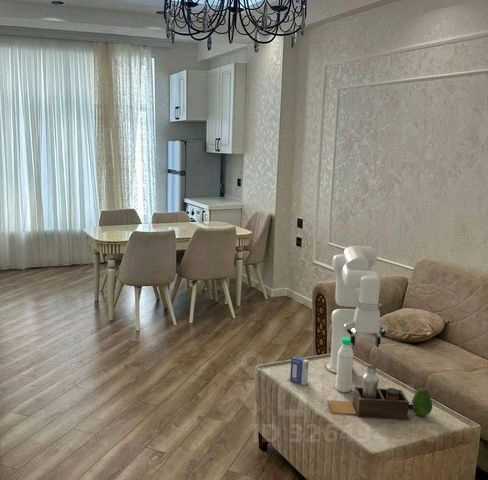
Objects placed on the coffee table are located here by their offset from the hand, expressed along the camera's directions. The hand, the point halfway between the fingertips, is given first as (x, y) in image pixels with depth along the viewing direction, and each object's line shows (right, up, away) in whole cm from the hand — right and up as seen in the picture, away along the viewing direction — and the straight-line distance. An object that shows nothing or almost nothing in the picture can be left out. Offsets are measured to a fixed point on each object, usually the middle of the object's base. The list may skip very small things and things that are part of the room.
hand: (364, 345), depth 223 cm
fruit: (+26, -31, +6) cm, 41 cm away
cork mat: (-6, -30, +11) cm, 32 cm away
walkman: (-20, -25, +35) cm, 47 cm away
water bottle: (-1, -26, +28) cm, 39 cm away
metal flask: (+4, -30, +9) cm, 32 cm away
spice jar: (+14, -30, +8) cm, 34 cm away
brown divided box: (+9, -30, +9) cm, 33 cm away
